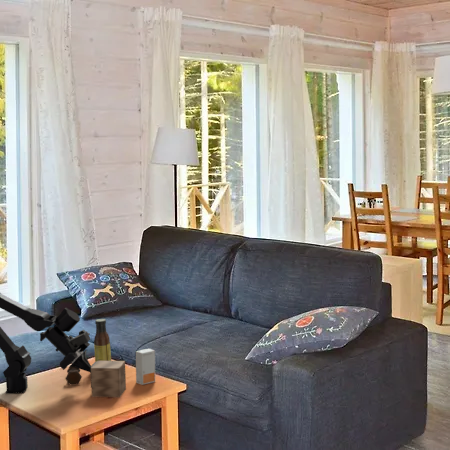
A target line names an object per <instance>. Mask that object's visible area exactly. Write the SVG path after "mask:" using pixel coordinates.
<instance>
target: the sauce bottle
mask: <svg viewBox="0 0 450 450" xmlns="http://www.w3.org/2000/svg"><path fill="white" fill-rule="evenodd" d="M106 324H107V319H106V318H99V319H95V326H96V327H95V328H96V330H95V335H94V339H93V348H94V349H93V351H94V362H97V361H112V355H111V354H112V353H111V342H110V336H109V333H108V331H107V327H106Z"/></svg>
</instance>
